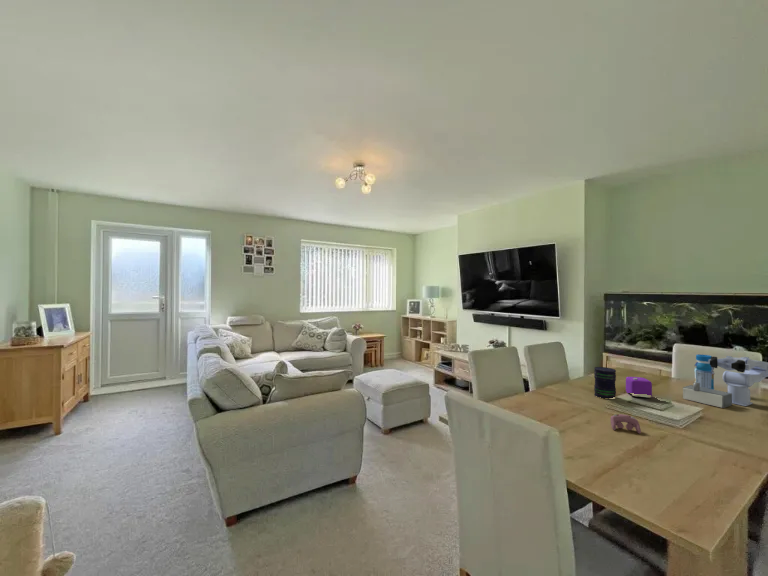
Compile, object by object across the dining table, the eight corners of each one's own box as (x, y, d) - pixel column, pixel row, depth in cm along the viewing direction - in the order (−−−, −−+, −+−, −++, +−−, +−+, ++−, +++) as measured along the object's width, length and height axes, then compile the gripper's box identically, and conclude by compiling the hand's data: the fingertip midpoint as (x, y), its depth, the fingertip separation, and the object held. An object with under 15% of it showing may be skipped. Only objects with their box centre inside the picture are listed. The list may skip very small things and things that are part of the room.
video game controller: (639, 435, 134) (637, 417, 137) (642, 434, 131) (639, 415, 133) (610, 430, 138) (608, 413, 141) (612, 429, 135) (610, 411, 138)
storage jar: (620, 399, 173) (620, 371, 173) (601, 399, 173) (601, 371, 173) (607, 393, 183) (607, 366, 183) (590, 393, 183) (590, 366, 183)
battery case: (691, 395, 180) (691, 384, 180) (731, 405, 165) (731, 393, 165) (683, 398, 176) (683, 387, 176) (724, 407, 161) (724, 395, 161)
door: (684, 398, 175) (684, 380, 175) (724, 407, 161) (724, 388, 161) (682, 398, 174) (682, 380, 174) (722, 408, 160) (722, 388, 160)
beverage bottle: (701, 391, 187) (701, 356, 188) (690, 387, 196) (690, 353, 196) (718, 392, 186) (718, 357, 186) (706, 388, 194) (706, 354, 194)
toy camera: (639, 391, 187) (639, 374, 188) (656, 399, 174) (656, 380, 174) (618, 390, 188) (618, 373, 189) (634, 398, 175) (634, 379, 175)
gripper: (714, 353, 173) (702, 353, 167) (754, 358, 160) (742, 358, 154) (713, 367, 173) (701, 367, 167) (753, 373, 160) (742, 374, 154)
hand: (721, 364), depth 160 cm, fingers open, 7 cm apart
